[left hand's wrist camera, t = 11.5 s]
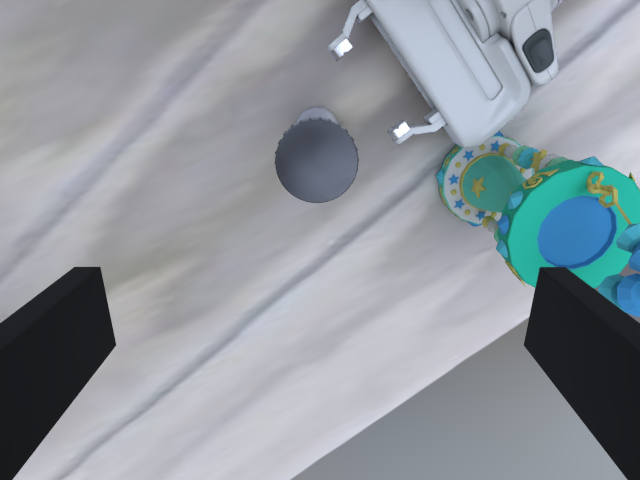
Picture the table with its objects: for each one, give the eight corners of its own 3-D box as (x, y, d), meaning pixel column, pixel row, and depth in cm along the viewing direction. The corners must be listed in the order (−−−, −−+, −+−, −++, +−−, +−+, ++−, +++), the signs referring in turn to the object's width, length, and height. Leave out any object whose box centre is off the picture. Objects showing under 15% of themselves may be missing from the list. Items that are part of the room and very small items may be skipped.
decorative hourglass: (442, 125, 46) (641, 193, 18) (540, 132, 46) (888, 212, 18) (426, 220, 50) (567, 400, 22) (516, 227, 50) (772, 412, 22)
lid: (338, 102, 28) (340, 104, 26) (367, 178, 30) (371, 185, 28) (263, 135, 29) (259, 139, 27) (296, 207, 31) (295, 216, 29)
